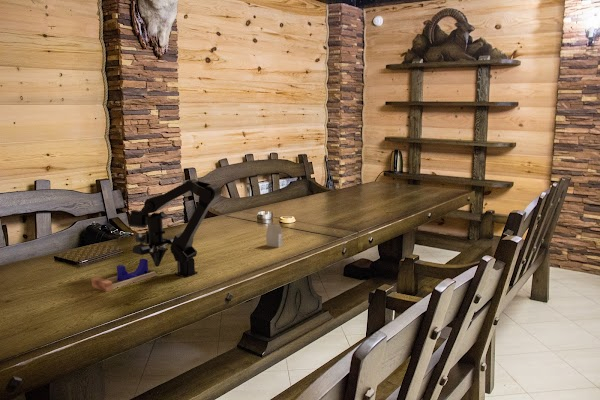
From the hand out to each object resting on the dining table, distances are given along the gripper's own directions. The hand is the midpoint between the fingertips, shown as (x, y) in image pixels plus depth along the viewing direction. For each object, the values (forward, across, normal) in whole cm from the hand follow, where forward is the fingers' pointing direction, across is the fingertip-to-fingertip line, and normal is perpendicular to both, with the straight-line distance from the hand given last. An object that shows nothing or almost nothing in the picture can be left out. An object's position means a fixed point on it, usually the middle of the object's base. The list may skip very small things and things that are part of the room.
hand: (157, 266), depth 219 cm
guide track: (+2, +15, 0) cm, 15 cm away
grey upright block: (+2, -59, +13) cm, 60 cm away
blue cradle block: (+2, +10, -1) cm, 11 cm away
